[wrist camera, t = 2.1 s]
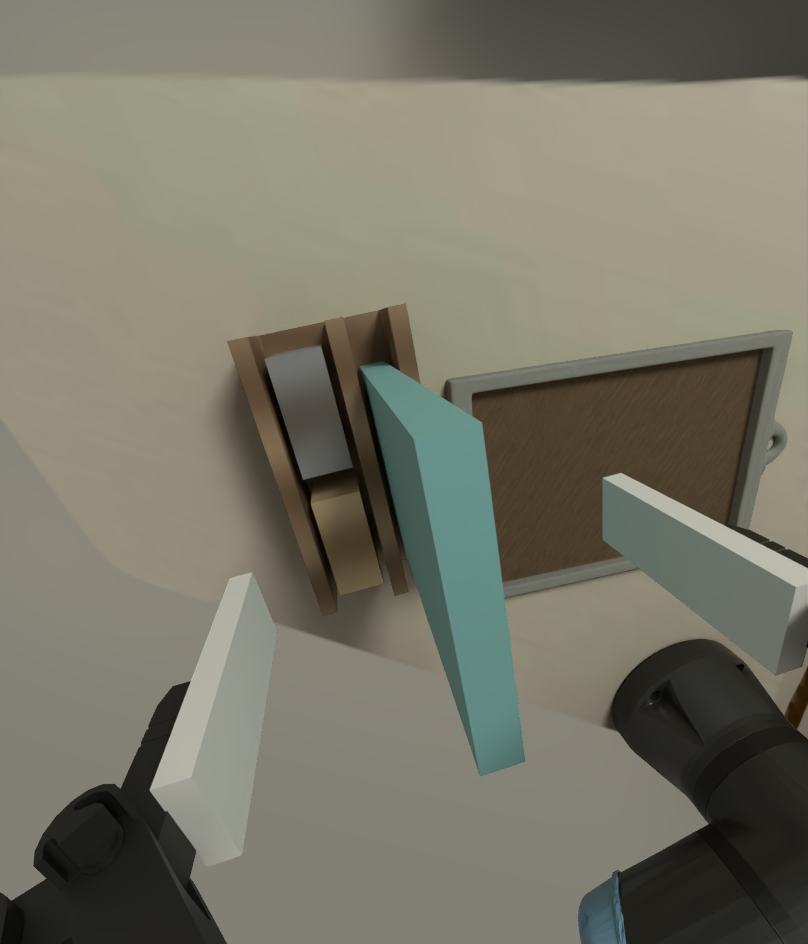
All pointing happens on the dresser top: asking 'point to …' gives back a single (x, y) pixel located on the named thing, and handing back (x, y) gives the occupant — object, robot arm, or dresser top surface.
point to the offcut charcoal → (310, 410)
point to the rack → (345, 352)
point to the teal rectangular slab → (451, 551)
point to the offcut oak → (346, 532)
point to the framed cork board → (621, 445)
